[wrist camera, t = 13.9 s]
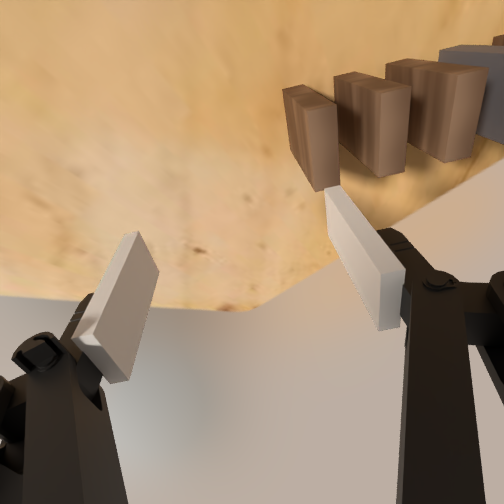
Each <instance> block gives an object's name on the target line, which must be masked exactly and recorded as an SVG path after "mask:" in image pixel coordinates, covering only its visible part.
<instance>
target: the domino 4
mask: <svg viewBox="0 0 504 504" xmlns="http://www.w3.org/2000/svg"><path fill="white" fill-rule="evenodd" d="M438 62H443V63H452V64H461V65H470V66H479V67H488V68H489V72H488V76H487V81H486V86H485V91H484V96H483V100H482V105H481V110H480V115H479V120H478V125H477V129H476V134H478V135H480V136H483V137H485V138H488V139H491V140H493V141H496V142H499V143H501V144H504V46H488V45H459V46H455V47H450V48H446V49H442V50H440V52H439V60H438Z"/></svg>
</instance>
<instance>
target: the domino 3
mask: <svg viewBox="0 0 504 504" xmlns="http://www.w3.org/2000/svg"><path fill="white" fill-rule="evenodd" d="M488 72H489V68H488V67H479V66H470V65H461V64H452V63H443V62H434V61H425V60H416V59H403V60H399V61H395V62H391V63H387V64H386V72H385V80H389V81H393V82H397V83H401V84H404V85H408V86H412V87H411V100H410V112H409V124H408V136H407V142H408V143H410V144H411V145H413V146H415V147H417V148H418V149H420V150H422V151H424V152H426V153H427V154H429V155H431V156H433V157H434V158H436V159H438V160H440V161H441V162H443V163H447V162H451V161H456V160H460V159H465V158H469V157H471V153H472V149H473V144H474V139H475V134H476V129H477V125H478V120H479V115H480V110H481V105H482V100H483V96H484V91H485V86H486V81H487V76H488Z"/></svg>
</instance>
